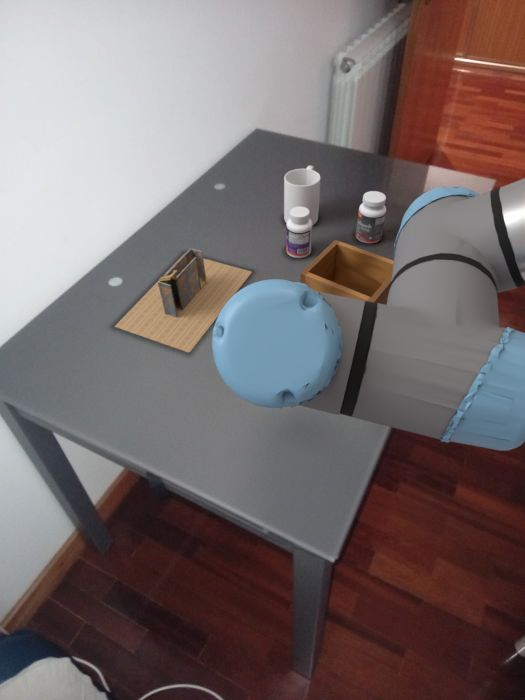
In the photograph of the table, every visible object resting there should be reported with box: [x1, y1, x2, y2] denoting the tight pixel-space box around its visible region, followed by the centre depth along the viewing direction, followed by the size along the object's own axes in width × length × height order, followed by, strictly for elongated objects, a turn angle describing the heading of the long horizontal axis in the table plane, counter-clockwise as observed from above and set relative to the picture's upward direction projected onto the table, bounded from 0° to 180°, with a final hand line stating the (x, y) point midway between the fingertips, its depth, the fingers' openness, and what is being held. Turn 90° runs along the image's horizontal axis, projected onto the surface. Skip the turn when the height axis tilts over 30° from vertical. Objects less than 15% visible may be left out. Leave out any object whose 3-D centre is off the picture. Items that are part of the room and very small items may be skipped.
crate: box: [299, 239, 394, 305], centre depth 89 cm, size 14×12×10 cm
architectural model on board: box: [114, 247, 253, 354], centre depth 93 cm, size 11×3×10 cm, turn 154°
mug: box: [283, 165, 321, 227], centre depth 112 cm, size 12×8×10 cm, turn 161°
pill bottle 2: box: [355, 190, 387, 244], centre depth 105 cm, size 6×6×10 cm
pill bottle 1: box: [285, 207, 313, 259], centre depth 102 cm, size 5×5×10 cm
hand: (314, 340), depth 65 cm, fingers closed on beverage can, 6 cm apart
